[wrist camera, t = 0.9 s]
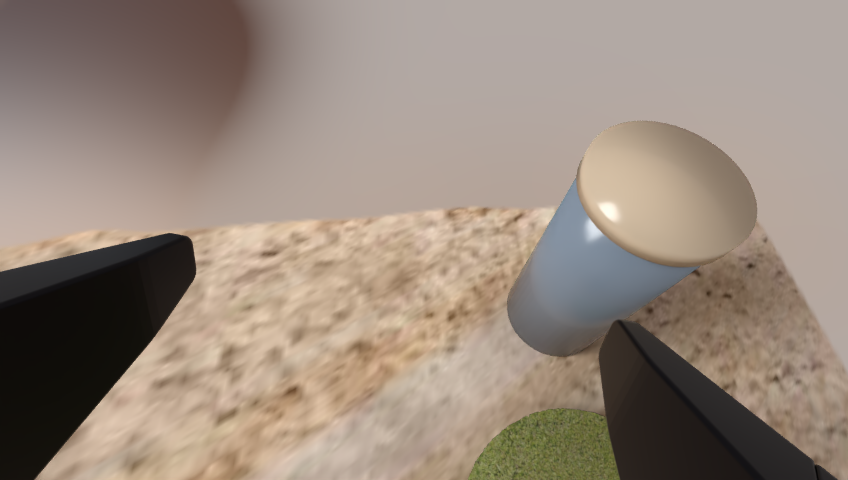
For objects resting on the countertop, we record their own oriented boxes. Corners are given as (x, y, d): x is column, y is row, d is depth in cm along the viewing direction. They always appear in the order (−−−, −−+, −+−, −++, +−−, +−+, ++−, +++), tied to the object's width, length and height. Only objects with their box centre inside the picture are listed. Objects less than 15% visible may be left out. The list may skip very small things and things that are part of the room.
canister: (619, 337, 24) (795, 222, 14) (535, 374, 23) (656, 281, 12) (566, 256, 27) (678, 106, 16) (487, 285, 26) (553, 143, 15)
